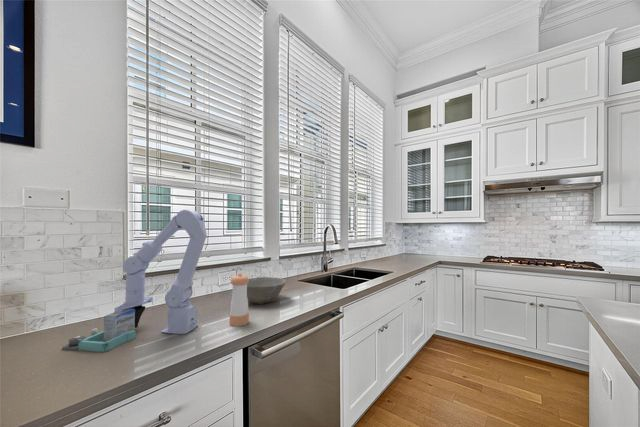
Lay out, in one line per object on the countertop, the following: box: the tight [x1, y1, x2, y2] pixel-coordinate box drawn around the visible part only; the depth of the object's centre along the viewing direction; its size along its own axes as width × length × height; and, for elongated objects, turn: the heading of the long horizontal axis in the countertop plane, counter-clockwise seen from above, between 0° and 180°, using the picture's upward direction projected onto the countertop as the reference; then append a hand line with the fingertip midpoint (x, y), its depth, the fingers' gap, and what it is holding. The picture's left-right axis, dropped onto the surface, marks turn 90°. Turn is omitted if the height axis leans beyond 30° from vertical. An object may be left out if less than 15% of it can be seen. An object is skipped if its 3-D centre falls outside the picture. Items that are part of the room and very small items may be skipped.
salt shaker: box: [229, 273, 250, 327], centre depth 107 cm, size 7×7×19 cm
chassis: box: [62, 327, 137, 353], centre depth 88 cm, size 16×11×3 cm
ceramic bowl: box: [247, 276, 287, 305], centre depth 135 cm, size 22×23×10 cm
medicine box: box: [103, 309, 136, 342], centre depth 92 cm, size 8×4×9 cm, turn 171°
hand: (134, 327), depth 98 cm, fingers closed
